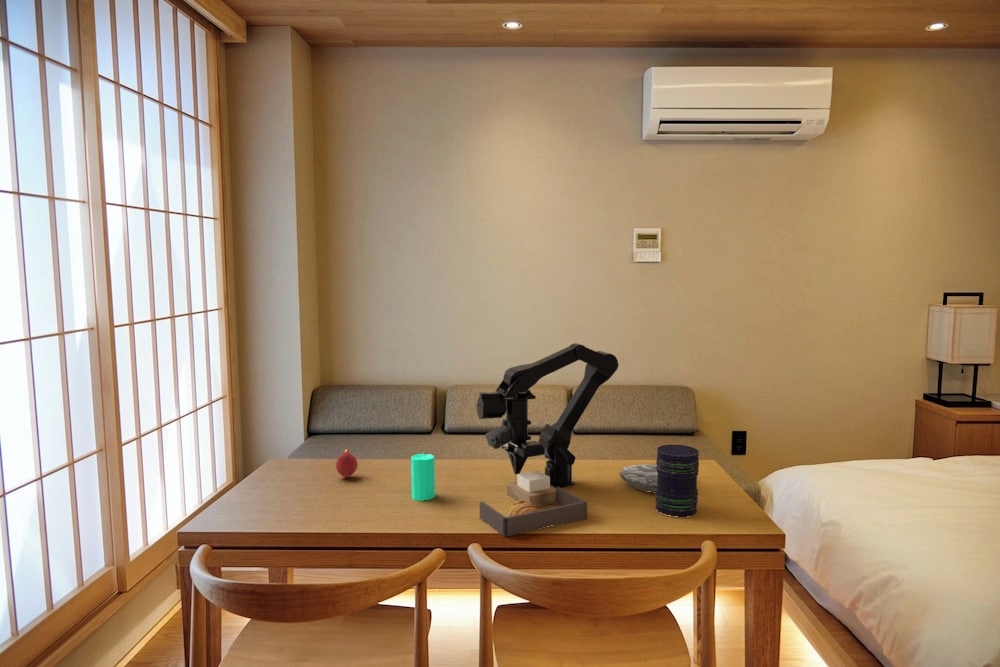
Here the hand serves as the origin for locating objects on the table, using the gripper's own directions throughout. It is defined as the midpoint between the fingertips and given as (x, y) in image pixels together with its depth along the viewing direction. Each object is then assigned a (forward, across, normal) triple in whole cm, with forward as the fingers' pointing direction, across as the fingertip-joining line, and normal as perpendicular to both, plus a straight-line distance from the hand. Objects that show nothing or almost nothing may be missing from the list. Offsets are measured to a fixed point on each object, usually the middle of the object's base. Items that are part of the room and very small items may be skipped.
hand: (516, 474), depth 179 cm
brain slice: (+4, +14, +34) cm, 37 cm away
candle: (+4, -6, -24) cm, 25 cm away
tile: (+1, +8, 0) cm, 9 cm away
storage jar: (+4, +32, +26) cm, 41 cm away
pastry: (+4, +20, -9) cm, 22 cm away
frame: (+4, +20, -7) cm, 22 cm away
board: (+4, +8, 0) cm, 9 cm away
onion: (+4, -30, -37) cm, 48 cm away
